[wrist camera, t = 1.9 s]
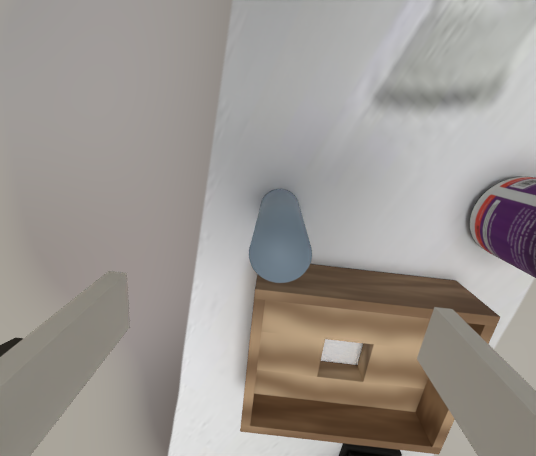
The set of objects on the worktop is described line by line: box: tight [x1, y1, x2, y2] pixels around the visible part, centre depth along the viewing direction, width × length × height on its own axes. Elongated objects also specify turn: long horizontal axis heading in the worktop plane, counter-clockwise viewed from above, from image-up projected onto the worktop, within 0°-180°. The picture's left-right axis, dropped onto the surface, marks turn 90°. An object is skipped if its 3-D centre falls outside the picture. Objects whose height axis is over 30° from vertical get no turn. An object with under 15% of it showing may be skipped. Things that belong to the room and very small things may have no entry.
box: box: [240, 264, 500, 454], centre depth 31 cm, size 18×22×6 cm
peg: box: [249, 189, 312, 283], centre depth 23 cm, size 4×4×12 cm
